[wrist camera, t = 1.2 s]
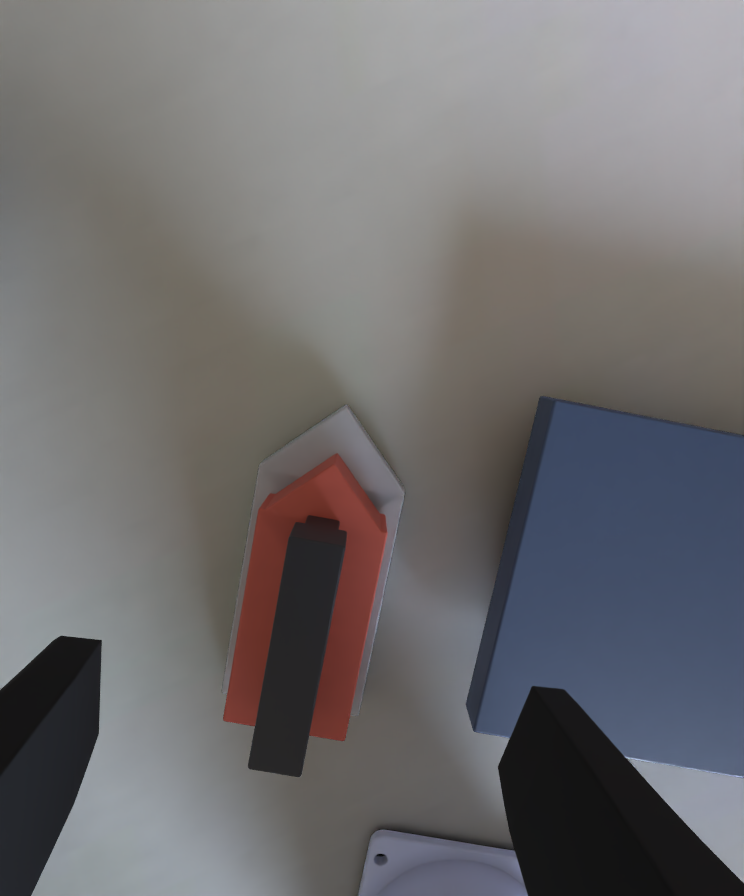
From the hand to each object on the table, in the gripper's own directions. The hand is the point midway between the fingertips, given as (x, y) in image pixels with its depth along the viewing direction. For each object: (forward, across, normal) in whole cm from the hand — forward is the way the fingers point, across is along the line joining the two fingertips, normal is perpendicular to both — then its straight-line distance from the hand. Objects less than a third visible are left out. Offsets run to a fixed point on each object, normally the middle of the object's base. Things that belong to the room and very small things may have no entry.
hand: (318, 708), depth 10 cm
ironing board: (+9, -18, +2) cm, 20 cm away
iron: (+10, 0, +4) cm, 11 cm away
